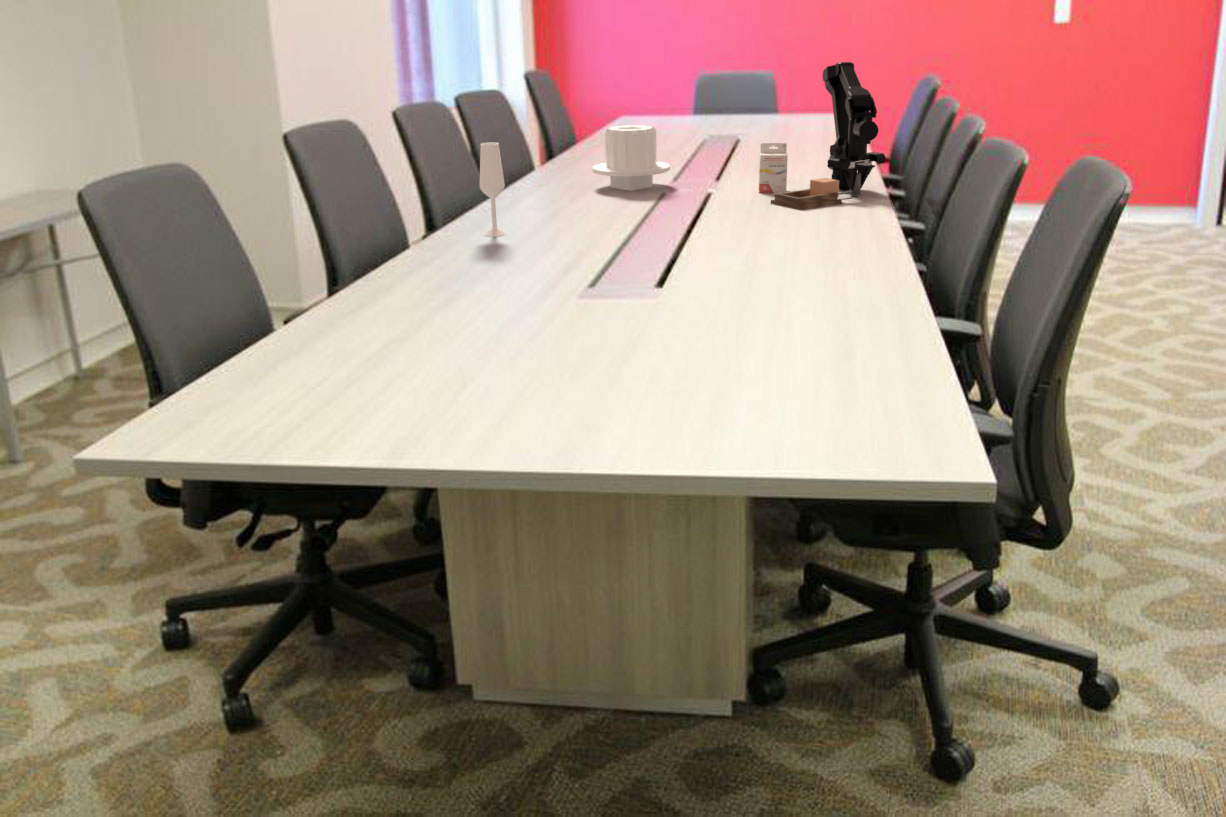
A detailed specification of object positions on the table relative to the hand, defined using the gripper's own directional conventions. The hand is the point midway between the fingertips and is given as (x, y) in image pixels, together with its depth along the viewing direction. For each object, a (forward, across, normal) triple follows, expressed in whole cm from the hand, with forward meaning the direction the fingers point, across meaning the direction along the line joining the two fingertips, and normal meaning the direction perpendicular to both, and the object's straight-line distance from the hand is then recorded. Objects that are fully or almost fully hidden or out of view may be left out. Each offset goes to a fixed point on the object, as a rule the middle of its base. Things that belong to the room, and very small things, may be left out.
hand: (855, 189), depth 355 cm
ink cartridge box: (+2, +14, -22) cm, 26 cm away
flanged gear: (+2, +43, -58) cm, 72 cm away
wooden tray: (+2, +19, 0) cm, 19 cm away
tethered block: (+2, +7, 0) cm, 7 cm away
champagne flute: (+2, +112, -20) cm, 114 cm away
